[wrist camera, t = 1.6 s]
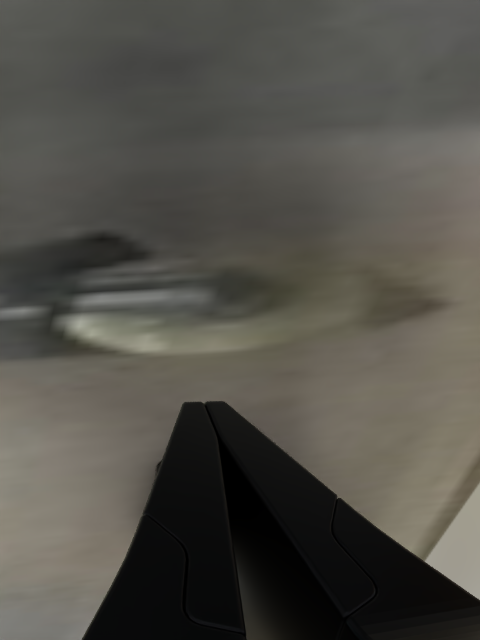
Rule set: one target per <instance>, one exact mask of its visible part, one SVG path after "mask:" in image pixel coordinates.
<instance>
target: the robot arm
mask: <svg viewBox="0 0 480 640" xmlns="http://www.w3.org/2000/svg"><path fill="white" fill-rule="evenodd" d="M82 640H480V600H479V599H477V598H476V597H474V596H473V595H471V594H470V593H469V592H467V591H466V590H464V589H463V588H461V587H460V586H458V585H457V584H456V583H454V582H453V581H451V580H450V579H448V578H447V577H446V576H444V575H443V574H441V573H440V572H439V571H437V570H436V569H434V568H433V567H431V566H430V565H428V564H427V563H426V562H424V561H423V560H421V559H420V558H419V557H417V556H416V555H414V554H413V553H411V552H410V551H409V550H407V549H406V548H404V547H403V546H402V545H400V544H399V543H397V542H396V541H395V540H393V539H392V538H391V537H389V536H388V535H386V534H385V533H384V532H382V531H381V530H380V529H378V528H377V527H376V526H375V525H373V524H372V523H371V522H369V521H368V520H367V519H366V518H364V517H363V516H362V515H361V514H359V513H358V512H357V511H356V510H354V509H353V508H352V507H351V506H350V505H348V504H347V503H346V502H345V501H344V500H342V499H341V498H338V499H337V495H336V494H335V493H334V492H333V491H331V490H330V489H329V488H328V487H327V486H325V485H324V484H323V483H322V482H321V481H319V480H318V479H317V478H316V477H315V476H313V475H312V474H311V473H310V472H308V471H307V470H306V469H305V468H304V467H302V466H301V465H300V464H299V463H298V462H296V461H295V460H294V459H293V458H292V457H290V456H289V455H288V454H287V453H286V452H284V451H283V450H282V449H281V448H280V447H278V446H277V445H276V444H275V443H274V442H272V441H271V440H270V439H269V438H268V437H266V436H265V435H264V434H263V433H262V432H260V431H259V430H258V429H257V428H256V427H254V426H253V425H252V424H251V423H250V422H248V421H247V420H246V419H245V418H244V417H242V416H241V415H240V414H239V413H238V412H236V411H235V410H234V409H233V408H232V407H230V406H229V405H228V404H227V403H225V402H223V401H210V402H205V403H202V402H184V403H183V404H182V407H181V410H180V412H179V415H178V418H177V421H176V423H175V426H174V429H173V432H172V434H171V437H170V440H169V443H168V445H167V448H166V451H165V454H164V456H163V459H162V462H161V464H159V465H158V466H157V468H156V473H155V481H154V484H153V487H152V489H151V492H150V495H149V498H148V500H147V503H146V506H145V509H144V511H143V516H141V519H140V522H139V524H138V527H137V530H136V532H135V535H134V537H133V540H132V542H131V545H130V547H129V549H128V552H127V554H126V557H125V559H124V561H123V563H122V565H121V567H120V569H119V571H118V573H117V575H116V577H115V579H114V581H113V583H112V585H111V587H110V589H109V591H108V592H107V594H106V596H105V598H104V600H103V602H102V603H101V605H100V607H99V609H98V611H97V613H96V614H95V616H94V618H93V620H92V622H91V624H90V625H89V627H88V629H87V631H86V633H85V635H84V636H83V638H82Z"/></svg>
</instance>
